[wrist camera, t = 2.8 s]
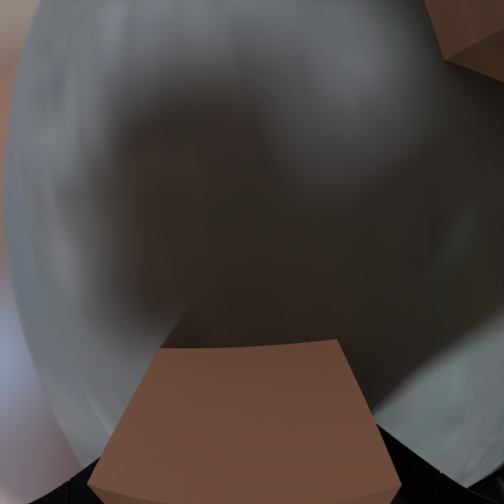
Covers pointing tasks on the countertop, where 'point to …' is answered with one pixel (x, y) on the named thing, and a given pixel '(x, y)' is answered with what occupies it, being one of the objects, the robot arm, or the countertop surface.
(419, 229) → the countertop surface
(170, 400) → the terracotta cube
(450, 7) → the walnut block
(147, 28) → the countertop surface
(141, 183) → the countertop surface
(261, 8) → the countertop surface
